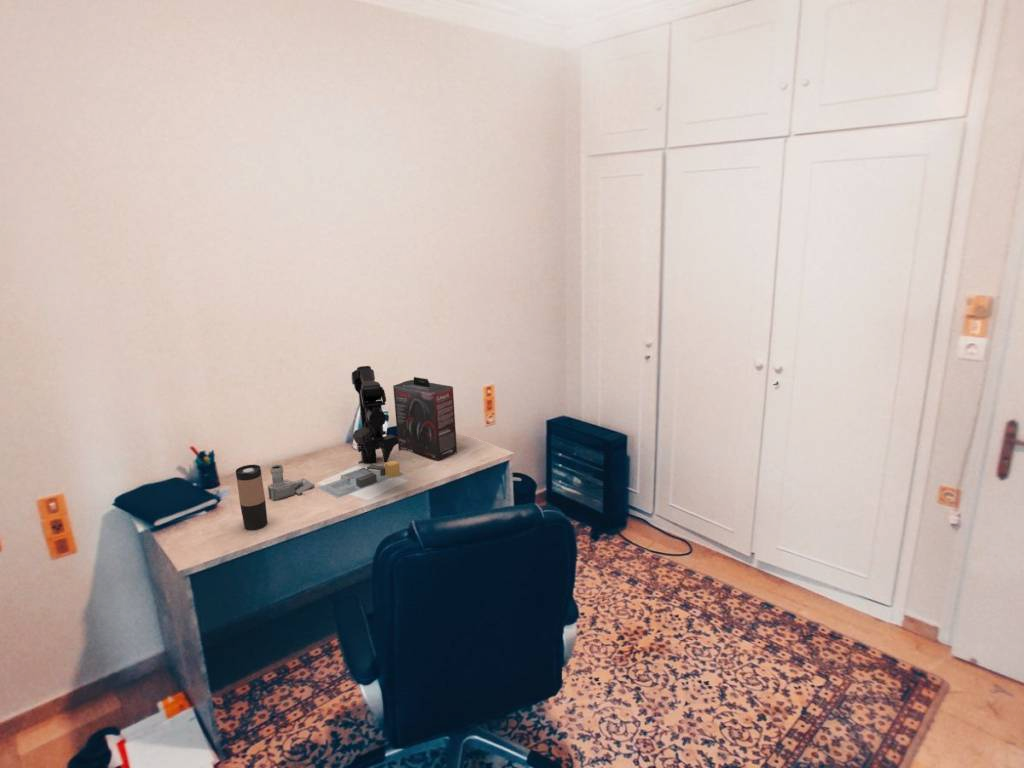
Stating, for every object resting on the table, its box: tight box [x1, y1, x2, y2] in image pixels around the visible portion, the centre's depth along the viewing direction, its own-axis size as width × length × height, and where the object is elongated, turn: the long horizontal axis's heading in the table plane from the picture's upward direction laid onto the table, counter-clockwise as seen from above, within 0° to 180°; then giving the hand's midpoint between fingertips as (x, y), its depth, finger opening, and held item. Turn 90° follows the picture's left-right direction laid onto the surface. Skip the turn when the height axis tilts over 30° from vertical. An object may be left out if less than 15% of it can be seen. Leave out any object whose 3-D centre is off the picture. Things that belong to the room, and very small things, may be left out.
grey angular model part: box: [267, 464, 315, 502], centre depth 227 cm, size 9×12×15 cm
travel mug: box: [235, 464, 268, 531], centre depth 201 cm, size 8×8×20 cm
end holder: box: [326, 480, 356, 496], centre depth 227 cm, size 8×7×2 cm
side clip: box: [340, 467, 371, 485], centre depth 236 cm, size 5×10×2 cm, turn 136°
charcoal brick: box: [356, 473, 377, 488], centre depth 232 cm, size 3×7×3 cm, turn 136°
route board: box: [317, 464, 404, 499], centre depth 235 cm, size 14×29×4 cm, turn 136°
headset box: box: [392, 376, 458, 461], centre depth 262 cm, size 25×12×33 cm, turn 53°
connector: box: [384, 460, 401, 479], centre depth 239 cm, size 4×4×5 cm
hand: (377, 459), depth 225 cm, fingers open, 9 cm apart
